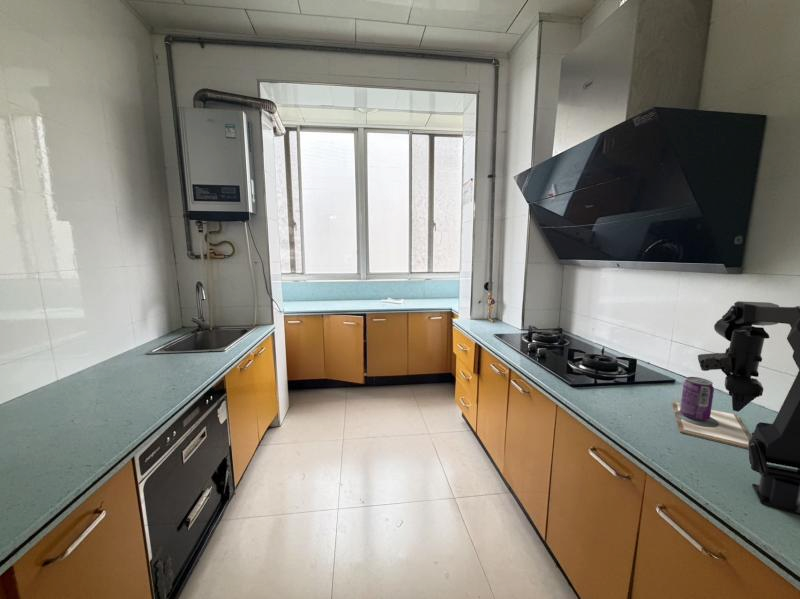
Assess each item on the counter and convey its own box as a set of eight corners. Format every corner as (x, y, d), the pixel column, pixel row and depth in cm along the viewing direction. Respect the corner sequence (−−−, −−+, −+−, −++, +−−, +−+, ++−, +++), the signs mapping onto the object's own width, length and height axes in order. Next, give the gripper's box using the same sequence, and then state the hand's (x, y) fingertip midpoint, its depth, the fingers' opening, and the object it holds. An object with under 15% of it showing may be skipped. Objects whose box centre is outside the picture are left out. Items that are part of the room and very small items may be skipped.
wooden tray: (758, 451, 87) (758, 448, 86) (679, 432, 96) (680, 429, 96) (736, 416, 104) (736, 413, 104) (672, 403, 113) (672, 400, 113)
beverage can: (713, 417, 102) (718, 381, 100) (705, 424, 98) (710, 387, 96) (684, 408, 108) (688, 374, 106) (676, 414, 104) (680, 379, 102)
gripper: (701, 333, 95) (693, 381, 99) (704, 353, 82) (694, 408, 85) (756, 340, 88) (745, 392, 92) (769, 364, 75) (755, 424, 78)
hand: (733, 403), depth 87 cm, fingers open, 9 cm apart
